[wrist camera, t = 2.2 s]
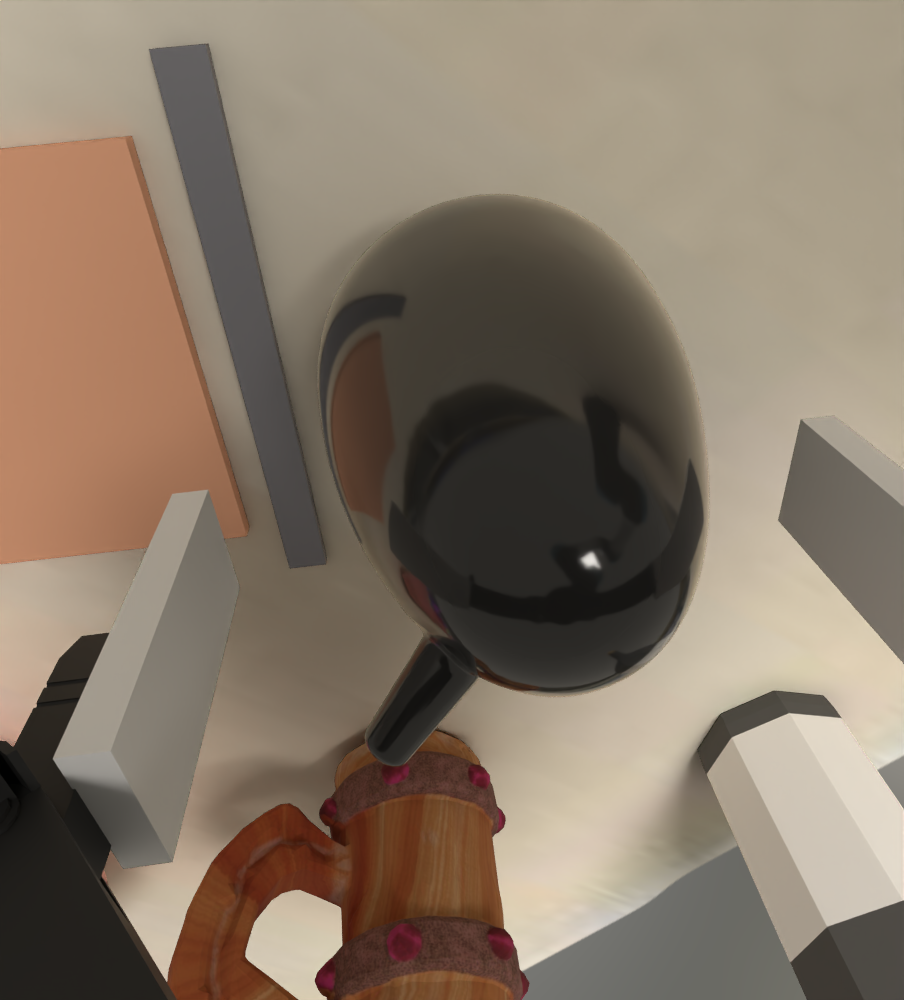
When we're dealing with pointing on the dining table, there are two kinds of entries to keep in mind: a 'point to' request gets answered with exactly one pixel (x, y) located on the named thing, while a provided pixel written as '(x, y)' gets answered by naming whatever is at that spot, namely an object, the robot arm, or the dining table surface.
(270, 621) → the dining table surface
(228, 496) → the mat
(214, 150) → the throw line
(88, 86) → the dining table surface
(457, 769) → the mug
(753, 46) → the dining table surface
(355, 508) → the pump dispenser
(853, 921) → the wine bottle
